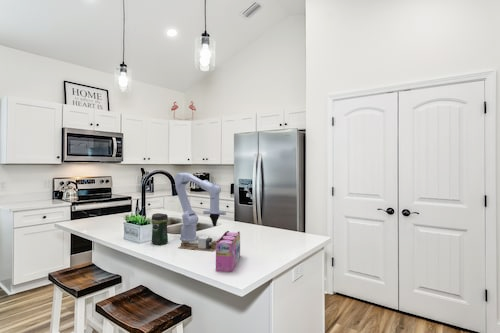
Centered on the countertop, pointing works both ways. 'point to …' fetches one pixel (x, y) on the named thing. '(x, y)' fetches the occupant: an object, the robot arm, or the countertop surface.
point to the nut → (208, 243)
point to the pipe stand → (195, 247)
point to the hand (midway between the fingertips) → (214, 225)
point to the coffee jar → (159, 228)
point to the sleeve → (202, 242)
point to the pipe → (193, 242)
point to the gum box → (227, 251)
